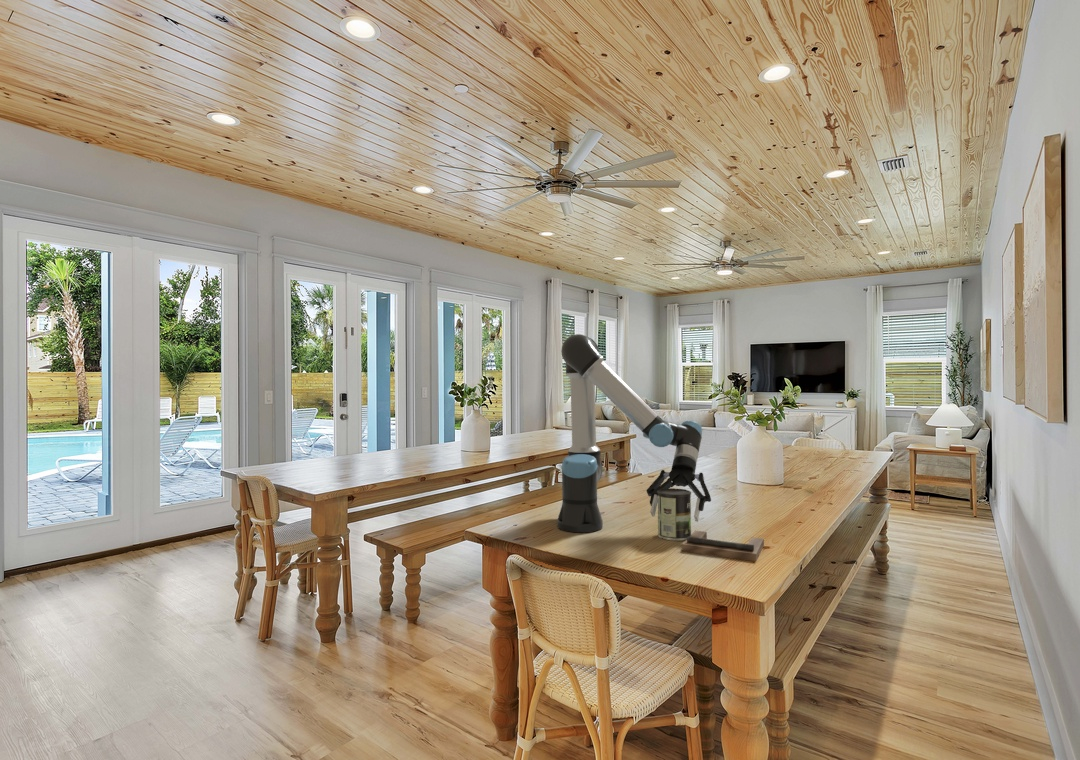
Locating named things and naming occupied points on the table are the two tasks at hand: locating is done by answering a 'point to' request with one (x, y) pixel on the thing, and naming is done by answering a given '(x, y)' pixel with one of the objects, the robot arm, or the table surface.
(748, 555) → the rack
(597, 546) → the table surface
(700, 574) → the table surface
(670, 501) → the coffee can
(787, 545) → the table surface
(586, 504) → the robot arm
